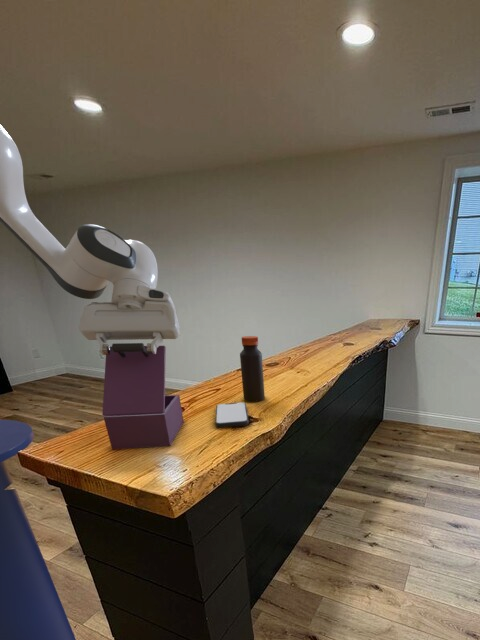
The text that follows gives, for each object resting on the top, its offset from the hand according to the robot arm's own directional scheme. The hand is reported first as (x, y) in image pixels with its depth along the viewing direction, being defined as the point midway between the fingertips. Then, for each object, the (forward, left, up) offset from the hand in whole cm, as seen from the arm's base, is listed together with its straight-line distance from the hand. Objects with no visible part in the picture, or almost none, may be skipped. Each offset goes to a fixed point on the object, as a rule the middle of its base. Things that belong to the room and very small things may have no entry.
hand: (128, 352), depth 75 cm
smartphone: (+19, +14, -21) cm, 31 cm away
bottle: (+25, +30, -21) cm, 44 cm away
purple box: (0, +4, -21) cm, 21 cm away
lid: (0, +1, -6) cm, 6 cm away
